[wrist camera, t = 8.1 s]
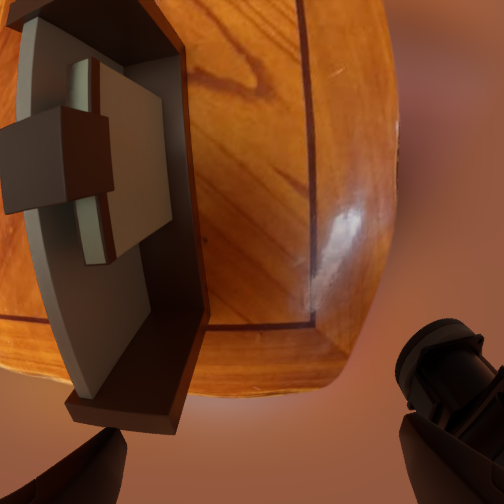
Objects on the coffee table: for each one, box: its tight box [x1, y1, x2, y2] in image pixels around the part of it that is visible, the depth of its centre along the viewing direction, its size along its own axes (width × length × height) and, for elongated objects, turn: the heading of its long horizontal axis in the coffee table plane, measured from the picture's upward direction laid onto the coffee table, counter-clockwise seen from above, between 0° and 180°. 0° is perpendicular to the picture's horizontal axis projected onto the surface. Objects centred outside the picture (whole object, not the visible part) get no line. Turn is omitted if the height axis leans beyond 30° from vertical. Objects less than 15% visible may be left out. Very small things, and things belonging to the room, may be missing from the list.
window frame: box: [6, 0, 211, 435], centre depth 14 cm, size 5×18×11 cm, turn 4°
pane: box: [0, 56, 172, 267], centre depth 12 cm, size 2×7×11 cm, turn 4°
